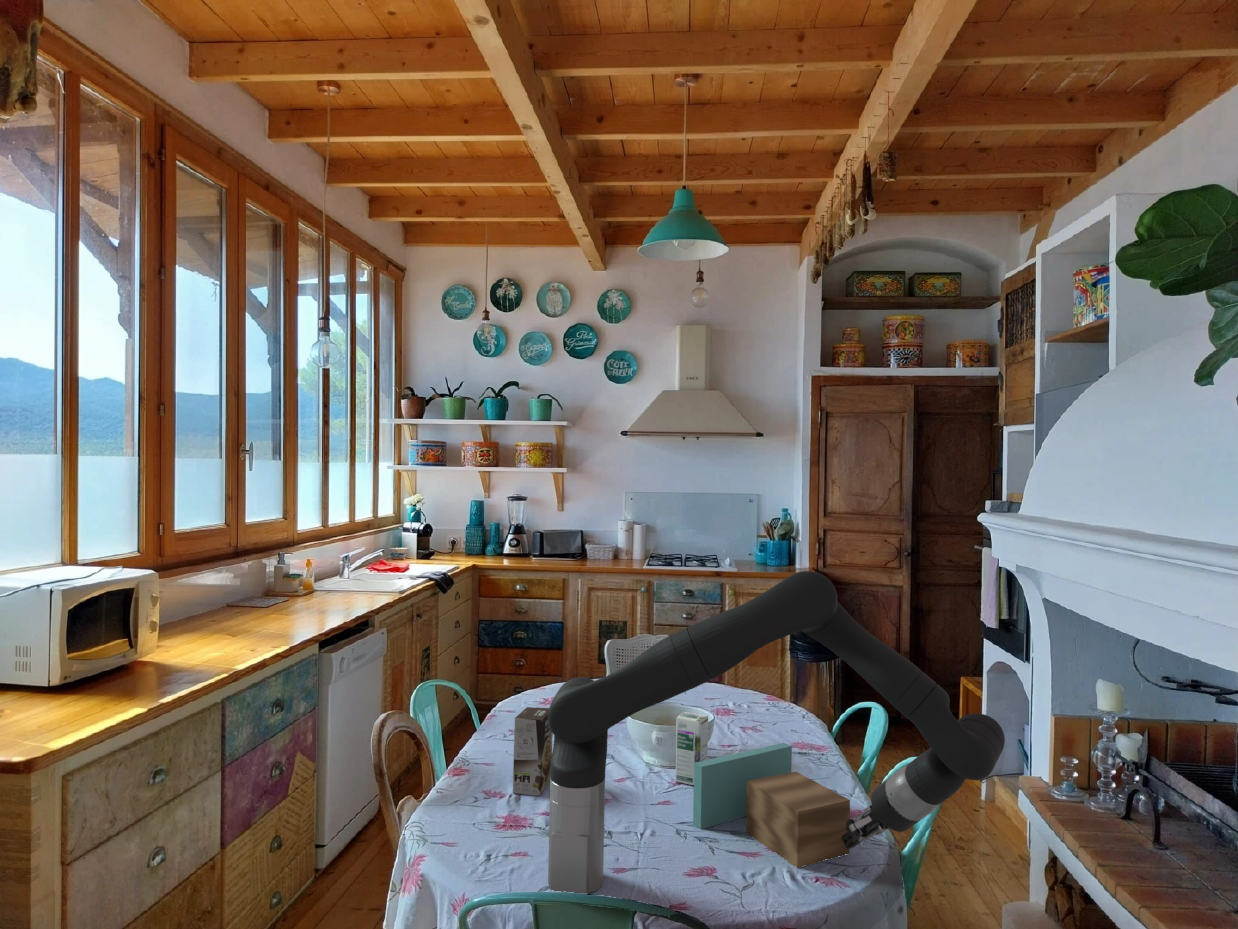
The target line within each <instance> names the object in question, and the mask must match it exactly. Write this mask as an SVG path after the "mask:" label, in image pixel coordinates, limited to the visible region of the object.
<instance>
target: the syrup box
mask: <svg viewBox="0 0 1238 929" xmlns="http://www.w3.org/2000/svg"><path fill="white" fill-rule="evenodd" d="M675 722H676V725H675V726H676V727H675V772H674V773H675V775H674V776H675V777H674V781H676V782H675V783H681V784H686V785H690V786H693V785H694V763H696V762H700V761H705V760H708V746H709V745H708V741H709V740H708V736H709V734H708V733H709V714H708V715H707V714H699V713H695V712H694V713H693V712H689V711H685V712H682V713H680V714H679V715H678V716H677V717H676V720H675Z"/></svg>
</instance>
